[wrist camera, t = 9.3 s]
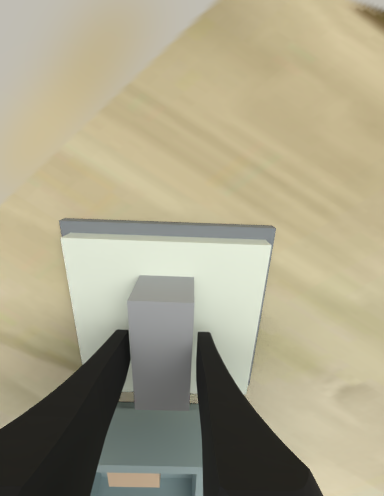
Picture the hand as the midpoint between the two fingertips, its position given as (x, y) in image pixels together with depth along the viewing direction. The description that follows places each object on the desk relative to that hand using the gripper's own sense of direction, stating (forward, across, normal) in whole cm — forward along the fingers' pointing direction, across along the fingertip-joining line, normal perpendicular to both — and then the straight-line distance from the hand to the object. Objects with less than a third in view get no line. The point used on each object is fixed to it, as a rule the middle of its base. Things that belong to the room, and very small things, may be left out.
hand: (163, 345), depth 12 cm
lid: (+3, 0, 0) cm, 3 cm away
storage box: (+3, +2, +14) cm, 14 cm away
